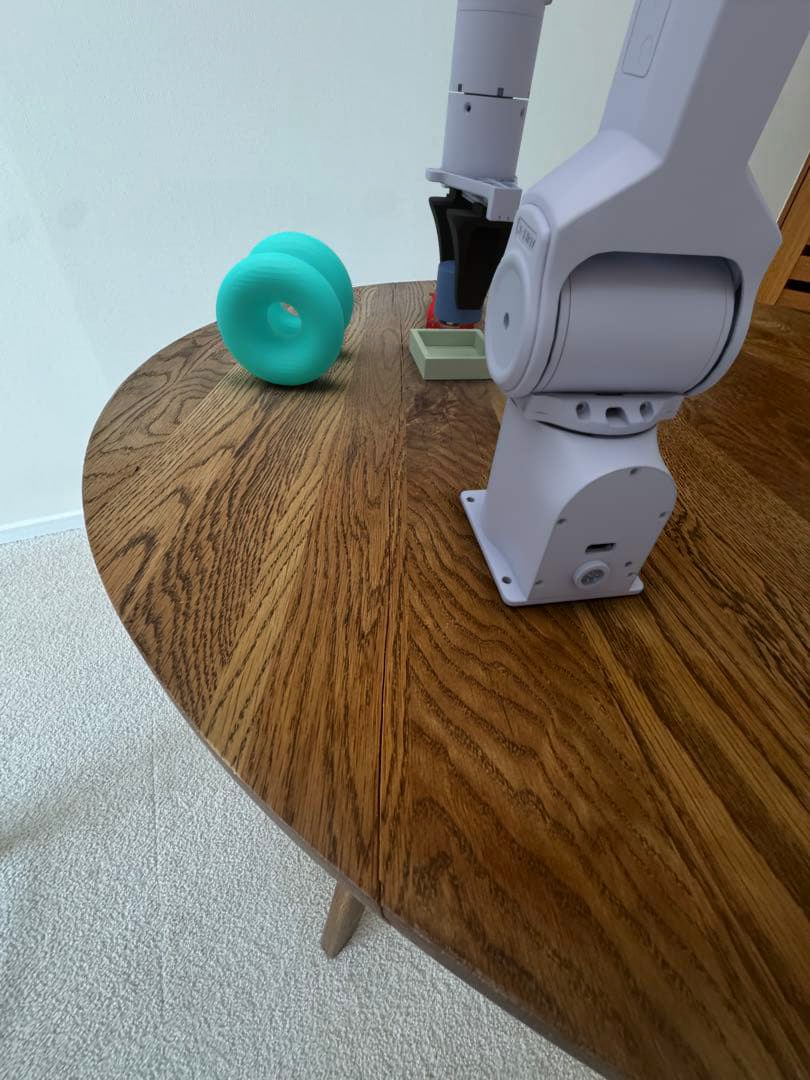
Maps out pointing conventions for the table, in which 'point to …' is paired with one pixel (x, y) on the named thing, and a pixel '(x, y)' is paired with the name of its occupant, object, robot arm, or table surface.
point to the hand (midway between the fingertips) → (460, 299)
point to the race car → (440, 324)
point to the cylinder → (451, 298)
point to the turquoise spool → (268, 327)
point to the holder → (449, 353)
